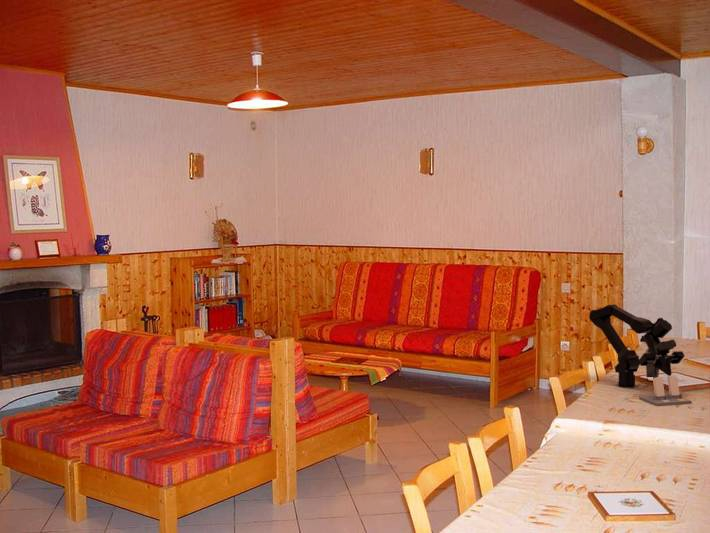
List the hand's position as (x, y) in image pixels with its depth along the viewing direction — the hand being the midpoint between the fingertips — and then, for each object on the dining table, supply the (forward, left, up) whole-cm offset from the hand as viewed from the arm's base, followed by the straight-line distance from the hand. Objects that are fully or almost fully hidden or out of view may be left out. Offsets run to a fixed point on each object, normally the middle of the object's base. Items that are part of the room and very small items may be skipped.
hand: (670, 375), depth 340 cm
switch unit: (-1, -5, -10) cm, 11 cm away
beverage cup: (-4, +35, -10) cm, 36 cm away
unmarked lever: (-4, -7, -8) cm, 11 cm away
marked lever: (+2, -3, -8) cm, 9 cm away
